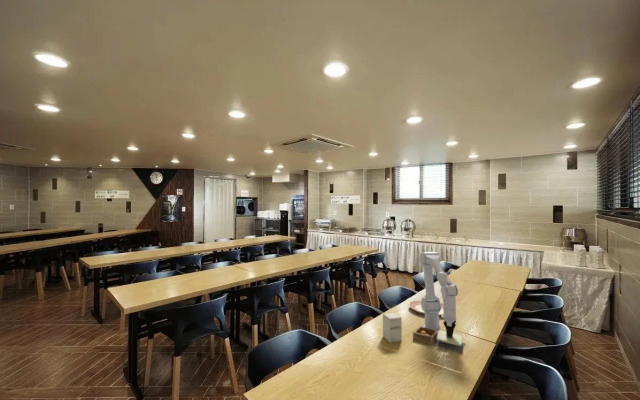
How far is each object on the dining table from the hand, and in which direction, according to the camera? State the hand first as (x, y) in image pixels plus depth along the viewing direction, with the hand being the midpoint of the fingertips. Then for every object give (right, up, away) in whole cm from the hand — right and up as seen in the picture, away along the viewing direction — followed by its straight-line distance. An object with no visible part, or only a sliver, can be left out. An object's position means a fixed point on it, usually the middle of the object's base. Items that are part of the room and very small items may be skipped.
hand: (450, 335), depth 139 cm
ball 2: (-10, -5, +4) cm, 12 cm away
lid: (0, -2, 0) cm, 2 cm away
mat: (0, -5, 0) cm, 5 cm away
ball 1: (-10, -5, +9) cm, 14 cm away
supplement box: (-28, -6, +7) cm, 29 cm away
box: (-10, -5, +7) cm, 13 cm away
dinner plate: (+9, -7, +48) cm, 49 cm away
